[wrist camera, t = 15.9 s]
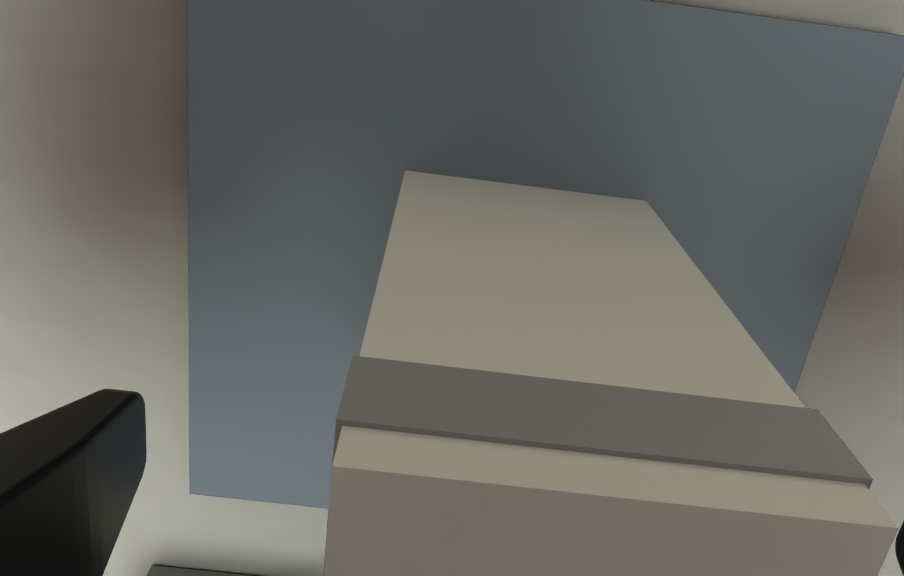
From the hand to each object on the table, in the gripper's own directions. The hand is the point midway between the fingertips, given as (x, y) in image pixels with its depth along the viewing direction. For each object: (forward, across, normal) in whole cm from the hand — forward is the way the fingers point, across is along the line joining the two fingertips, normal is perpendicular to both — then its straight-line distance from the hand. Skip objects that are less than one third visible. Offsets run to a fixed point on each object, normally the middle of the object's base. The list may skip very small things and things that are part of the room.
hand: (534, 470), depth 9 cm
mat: (+6, 0, 0) cm, 6 cm away
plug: (+5, 0, 0) cm, 5 cm away
